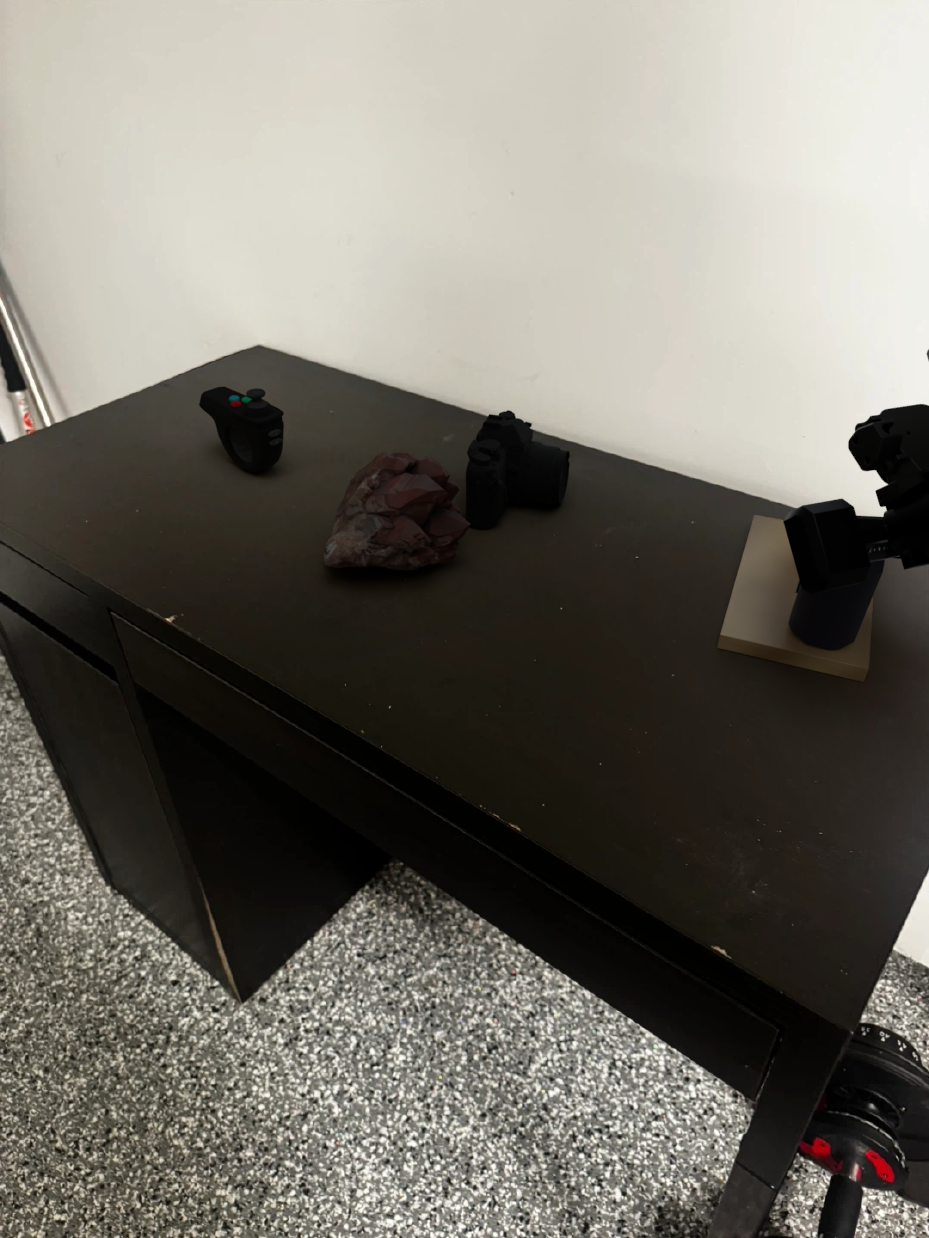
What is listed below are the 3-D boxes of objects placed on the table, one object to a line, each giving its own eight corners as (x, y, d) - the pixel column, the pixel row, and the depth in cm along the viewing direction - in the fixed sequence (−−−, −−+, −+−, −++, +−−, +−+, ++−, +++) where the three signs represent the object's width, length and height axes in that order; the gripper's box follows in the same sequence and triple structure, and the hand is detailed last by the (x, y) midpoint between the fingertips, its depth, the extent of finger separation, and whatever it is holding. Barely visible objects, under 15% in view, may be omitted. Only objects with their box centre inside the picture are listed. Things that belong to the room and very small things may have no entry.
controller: (267, 488, 99) (254, 404, 93) (204, 455, 106) (188, 374, 100) (297, 475, 102) (287, 392, 96) (233, 443, 109) (220, 364, 103)
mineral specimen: (361, 571, 95) (494, 546, 90) (308, 600, 83) (457, 573, 78) (334, 464, 92) (468, 432, 87) (274, 478, 80) (426, 442, 75)
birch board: (872, 550, 89) (877, 537, 89) (863, 682, 73) (869, 668, 72) (751, 526, 93) (754, 514, 92) (716, 648, 77) (720, 634, 76)
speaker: (795, 591, 80) (826, 497, 73) (861, 610, 78) (900, 515, 71) (777, 644, 75) (809, 547, 68) (847, 665, 73) (888, 568, 66)
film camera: (546, 542, 90) (551, 462, 85) (455, 527, 93) (455, 449, 87) (575, 475, 102) (581, 401, 97) (494, 464, 104) (496, 391, 99)
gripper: (1060, 370, 61) (904, 450, 76) (832, 403, 57) (714, 481, 72) (1110, 523, 60) (941, 574, 75) (881, 569, 55) (749, 614, 70)
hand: (838, 557), depth 73 cm, fingers closed on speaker, 7 cm apart
